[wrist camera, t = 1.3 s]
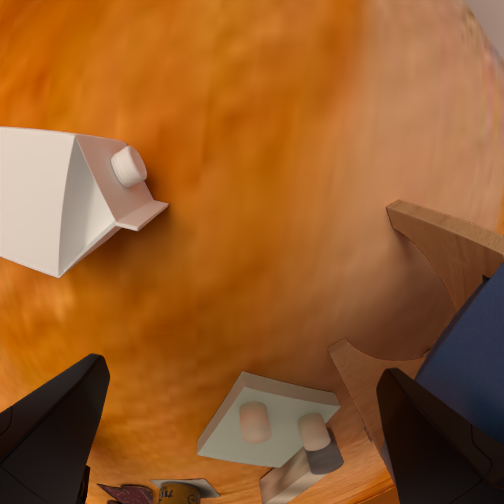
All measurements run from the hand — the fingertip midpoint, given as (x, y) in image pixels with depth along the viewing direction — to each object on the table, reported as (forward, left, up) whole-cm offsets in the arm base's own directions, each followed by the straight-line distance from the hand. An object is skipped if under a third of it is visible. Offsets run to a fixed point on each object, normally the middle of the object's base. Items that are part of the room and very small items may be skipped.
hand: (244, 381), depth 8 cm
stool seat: (-15, -10, -13) cm, 22 cm away
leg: (-22, -18, -12) cm, 30 cm away
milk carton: (-2, +24, -9) cm, 26 cm away
